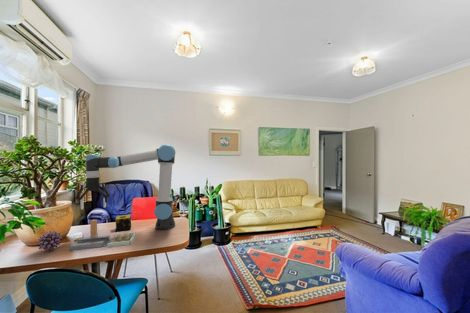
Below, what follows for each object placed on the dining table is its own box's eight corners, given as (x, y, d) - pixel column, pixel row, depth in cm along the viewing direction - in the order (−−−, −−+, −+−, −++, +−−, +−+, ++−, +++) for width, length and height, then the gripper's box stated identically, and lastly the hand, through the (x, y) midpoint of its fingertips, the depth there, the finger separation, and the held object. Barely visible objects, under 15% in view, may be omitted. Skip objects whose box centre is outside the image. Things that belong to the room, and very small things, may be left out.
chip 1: (122, 240, 139) (122, 234, 139) (121, 242, 135) (121, 236, 135) (116, 241, 138) (115, 235, 138) (114, 243, 134) (114, 237, 134)
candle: (131, 226, 169) (131, 214, 169) (130, 230, 160) (130, 217, 160) (116, 228, 165) (116, 215, 165) (115, 232, 156) (115, 219, 156)
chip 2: (129, 239, 140) (129, 233, 140) (128, 241, 136) (128, 235, 136) (123, 240, 139) (122, 234, 139) (121, 242, 135) (121, 236, 135)
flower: (39, 257, 118) (39, 235, 118) (34, 251, 125) (34, 231, 125) (65, 249, 127) (64, 230, 127) (59, 245, 134) (59, 226, 134)
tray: (135, 236, 146) (135, 232, 146) (130, 245, 131) (130, 240, 131) (114, 239, 143) (114, 234, 143) (107, 248, 127) (107, 243, 127)
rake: (97, 237, 146) (97, 219, 146) (94, 240, 141) (94, 221, 141) (93, 238, 145) (92, 219, 145) (89, 241, 140) (89, 221, 140)
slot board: (114, 239, 142) (114, 234, 142) (108, 248, 128) (107, 242, 128) (80, 243, 136) (80, 237, 136) (69, 252, 123) (69, 246, 123)
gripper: (114, 175, 150) (115, 205, 150) (74, 177, 143) (74, 208, 143) (111, 176, 143) (112, 207, 143) (68, 178, 136) (69, 211, 136)
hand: (93, 208), depth 143 cm, fingers open, 13 cm apart
